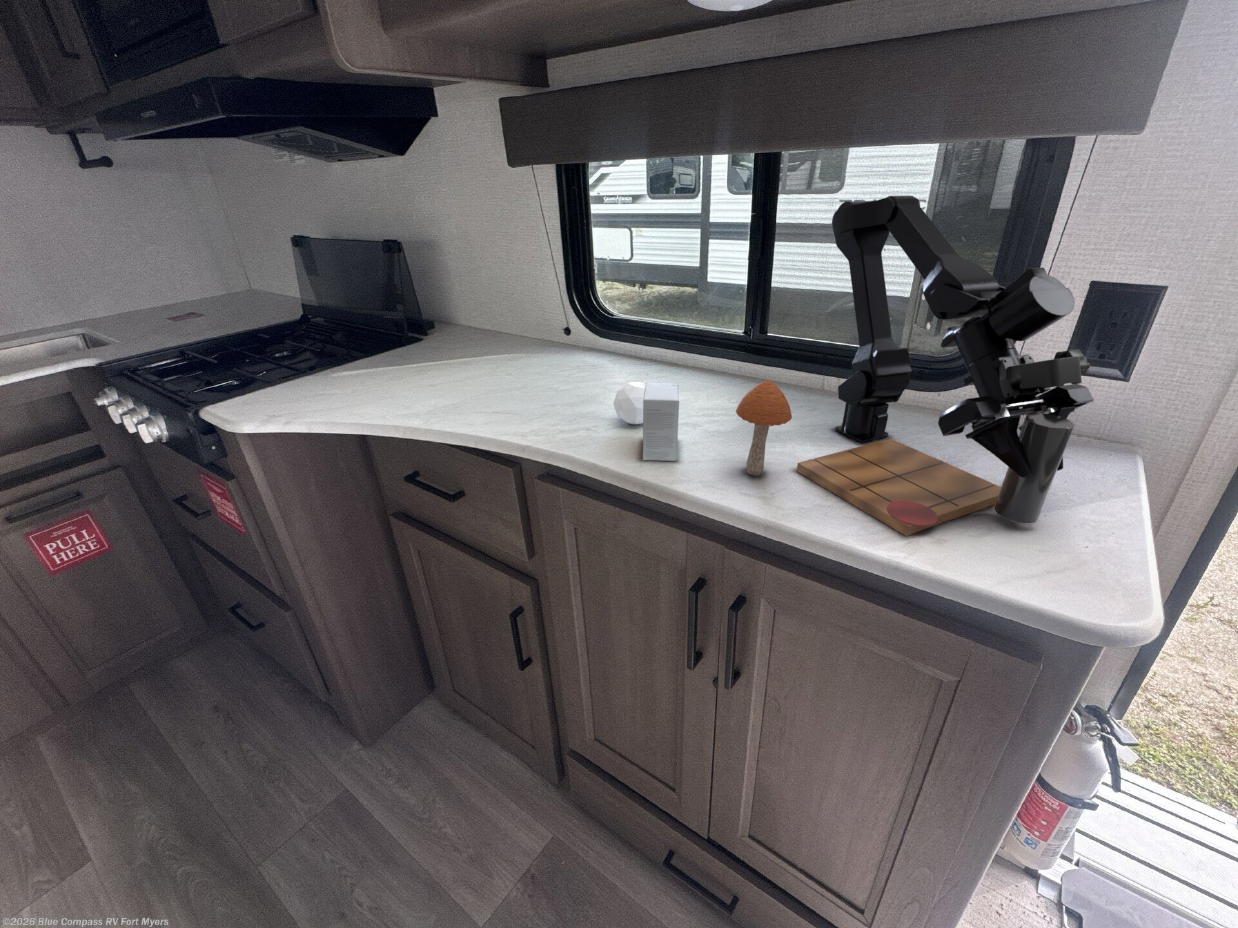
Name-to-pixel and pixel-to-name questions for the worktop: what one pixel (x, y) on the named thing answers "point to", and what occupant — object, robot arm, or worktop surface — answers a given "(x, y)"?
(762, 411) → the mushroom
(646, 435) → the small box
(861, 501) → the board
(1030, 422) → the black cylinder
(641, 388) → the geometric ball
